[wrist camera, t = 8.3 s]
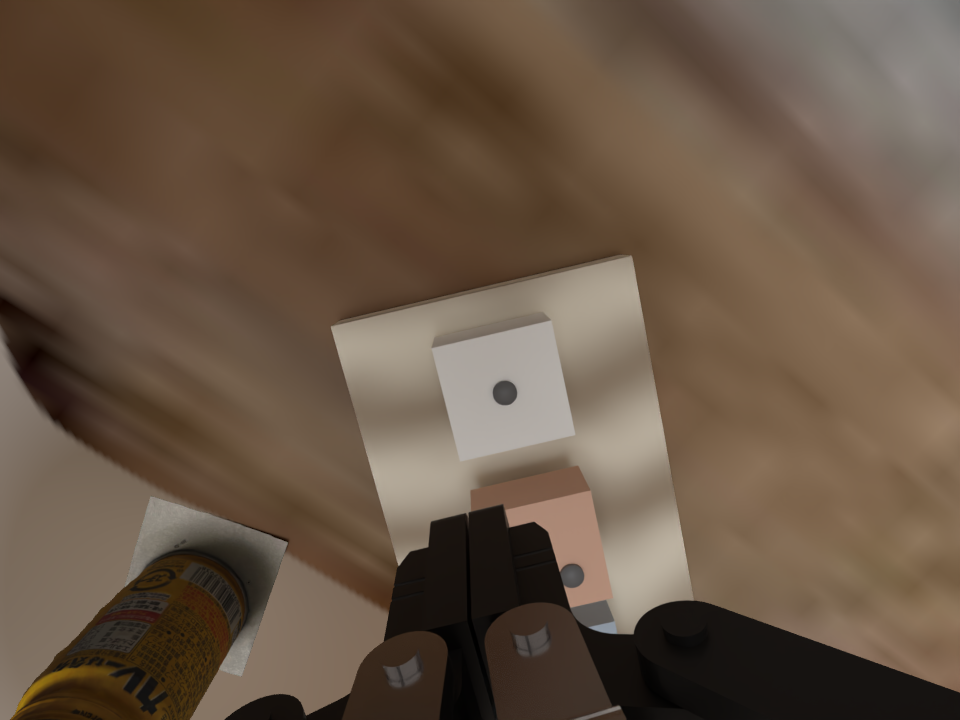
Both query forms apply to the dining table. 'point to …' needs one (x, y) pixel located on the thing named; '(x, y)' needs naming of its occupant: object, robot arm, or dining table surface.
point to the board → (594, 448)
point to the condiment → (164, 623)
